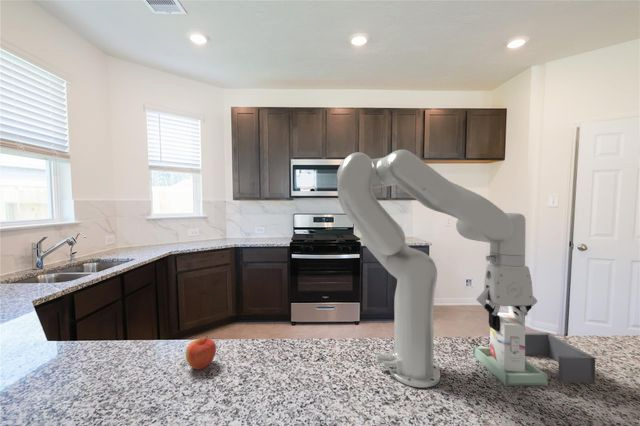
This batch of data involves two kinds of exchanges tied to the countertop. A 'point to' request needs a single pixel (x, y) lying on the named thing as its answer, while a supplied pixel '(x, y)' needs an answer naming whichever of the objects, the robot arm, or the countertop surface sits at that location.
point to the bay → (562, 357)
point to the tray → (510, 378)
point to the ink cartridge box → (509, 341)
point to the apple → (200, 353)
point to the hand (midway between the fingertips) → (506, 328)
